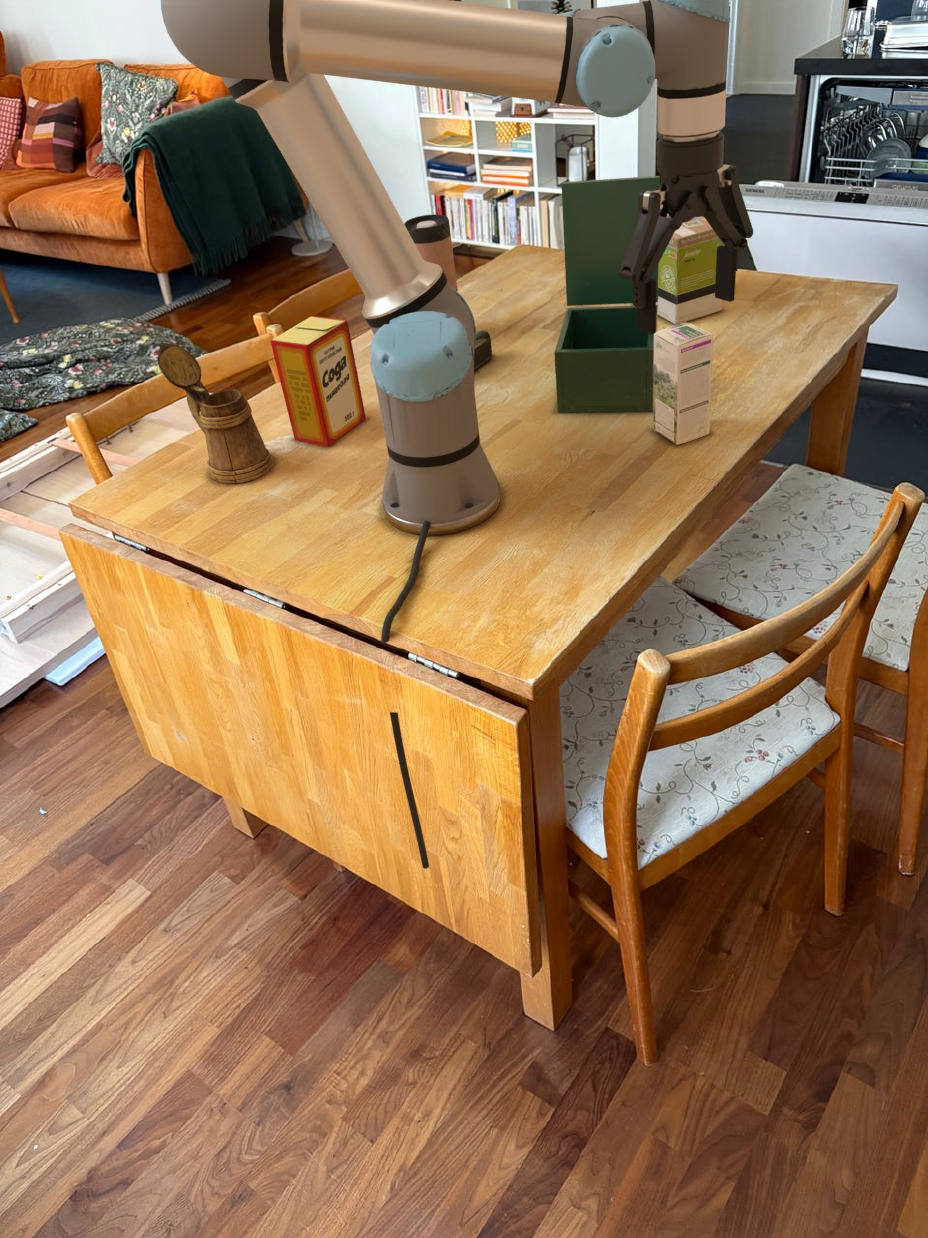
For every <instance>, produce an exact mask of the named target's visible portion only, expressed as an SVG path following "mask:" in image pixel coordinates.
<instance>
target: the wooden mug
mask: <svg viewBox="0 0 928 1238" xmlns="http://www.w3.org/2000/svg"><path fill="white" fill-rule="evenodd" d="M157 365H158V368H159V370H160V371H161V373H162V375H163V376H164V377H165V378H166V380H167V381H168V383H170V384H171V385H173V386H174V387H176V388H178V389H182V390H183V391H185V393H186V402H187V406H188V409H189V412H190V413H191V415H192V417H193V419H194V421H195V422H196V424H197V426H198V427H199V428H200V430H201V432H203V434H204V435H205V436H204V437H205V442H206V443H205V444H206V448H207V455H208V460H207V461H206V462H207V467H208V468H207V469H208V473H209V476H210V477H211V478H212V479H213V480H214V481H216V482H219V483H221V484H241V483H245V482H249V481H252V480H256V479H258V478H259V477H262V476H263V475H265V474H266V473H268V472H269V471H270V470H271V469H272V467H273V465H274V460H273V459H274V458H273V456H272V455H271V452H270V451H269V449H268V448H267V447H266V444H265V442H264V440H263V438H262V436H261V433H260V431H259V428H258V426H257V424H256V422H255V419H254V416H253V415H252V411H253V410H252V407H251V405H250V403H249V401H248V399H246V398H245V396H244V394H243V392H242V391H241V390H239V389H236V388H227V389H223V390H219V391H216V392H213V393H211V394H210V393H209V390H208V389H207V388H206V386H204V384H203V383H202V381H201V379H202V368H201V366H200V364H199V362H198V360H197V359H196V358H195V356H194V355H193V354H192V353H191V352H190V351H188V350H187V348H184V347H182V346H180V345H178V344H173V343H164V342H161V344H160V347H159V351H158V354H157Z"/></svg>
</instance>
